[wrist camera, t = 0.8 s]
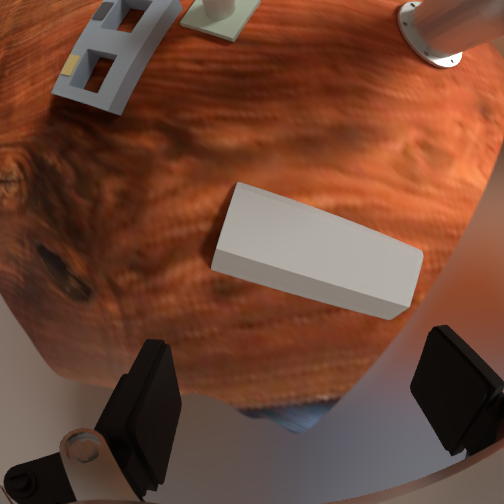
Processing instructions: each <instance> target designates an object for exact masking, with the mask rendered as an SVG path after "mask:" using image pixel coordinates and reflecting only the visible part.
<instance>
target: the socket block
mask: <svg viewBox="0 0 504 504" xmlns="http://www.w3.org/2000/svg"><path fill="white" fill-rule="evenodd" d="M130 9H138V10H144V11H146V12H145V13H144V15H143V16H142V17H141V19H140V20H139V22H138V23H137V25H136V26H135V28H134V29H133V31H132V32H131V33H127V32H122V31H116V30H117V28H118V26H119V25H120V23H121V22H122V20H123V19H124V17H125V16H126V15H127V13H128V12H129V10H130ZM182 9H183V8H182V5H181V3H180V1H179V0H104V1H103V2H102V4H101V5H100V7H99V8H98V9H97V11H96V12H95V14H94V15H93V17H92V18H91V20H90V21H89V23H88V25H87V26H86V28H85V29H84V31H83V33H82V34H81V36H80V38H79V39H78V41H77V43H76V44H75V46H74V48H73V50H72V52H71V53H70V55H69V57H68V59H67V61H66V63H65V65H64V67H63V69H62V71H61V73H60V75H59V77H58V79H57V81H56V84H55V86H54V88H53V90H52V94H56V95H59V96H62V97H66V98H69V99H72V100H75V101H78V102H82V103H85V104H88V105H91V106H94V107H97V108H100V109H103V110H105V111H108V112H111V113H114V114H117V115H120V116H121V114H122V112H123V110H124V108H125V106H126V104H127V102H128V100H129V98H130V96H131V94H132V92H133V90H134V88H135V86H136V84H137V82H138V80H139V78H140V76H141V75H142V73H143V71H144V69H145V67H146V66H147V64H148V62H149V60H150V59H151V57H152V55H153V53H154V52H155V50H156V48H157V47H158V45H159V44H160V42H161V40H162V39H163V37H164V36H165V34H166V33H167V31H168V30H169V28H170V27H171V25H172V24H173V22H174V21H175V19H176V18H177V16H178V15H179V14H180V12H181V11H182ZM100 57H103V58H107V59H111V60H115V61H114V63H113V65H112V66H111V68H110V70H109V72H108V74H107V76H106V78H105V80H104V82H103V84H102V86H101V88H100V90H99V92H98V94H97V93H94V92H90V91H87V90H84V87H85V85H86V83H87V81H88V79H89V77H90V75H91V73H92V71H93V69H94V67H95V66H96V64H97V62H98V60H99V58H100Z"/></svg>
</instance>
